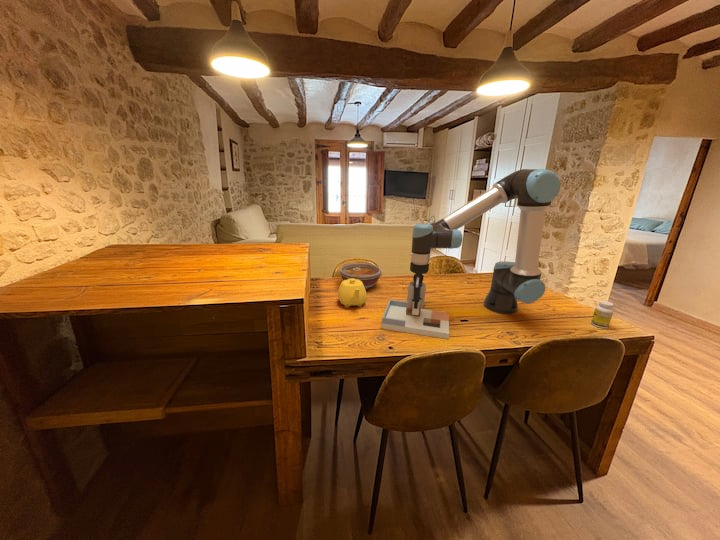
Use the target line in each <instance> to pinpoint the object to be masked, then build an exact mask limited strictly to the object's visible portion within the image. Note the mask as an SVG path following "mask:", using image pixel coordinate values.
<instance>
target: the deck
mask: <svg viewBox="0 0 720 540" xmlns="http://www.w3.org/2000/svg"><path fill="white" fill-rule="evenodd" d="M407 304H408V302H407V301H404V300H396V299H389V301H388V303H387V306H386V308H385V311H384V312H383V315H382V317H381V329H382V330H387V331H388V330H389V331H394V332H400V333H406V334H407V333H408V334H413V335H419V336H427V337H430V338H431V337H432V338H439V339H444V340H449V337H450V313H449V312H447V311H441V310H440V311H439V310H431V309H425V308H421V311H420V317H418V316H411V315H406V307H407Z"/></svg>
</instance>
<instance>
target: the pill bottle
mask: <svg viewBox="0 0 720 540" xmlns="http://www.w3.org/2000/svg"><path fill="white" fill-rule="evenodd" d="M613 307H614V303H612V302H611V301H607V300H599V303H598V304H597V305H596V306H595V308H594V312H593V315H592V318H591V322H590V323H591V325H592V326H594V327H596V328H600V329H608V328H609V325H610V323H611V321H612V317H613V314H614V313H615V312H614V309H613Z"/></svg>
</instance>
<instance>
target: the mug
mask: <svg viewBox="0 0 720 540" xmlns="http://www.w3.org/2000/svg"><path fill="white" fill-rule="evenodd" d="M413 284H414V280H413V281H410V282H408V287H407V296H406V298H407V299H406V302H412V303H413V301H412V299H413V295H414V286H413ZM426 291H427V284H426V283H425V282H423V281H422V287H421V292H420V298H421V300H420V304H421V309H424V307H425V302H426V301H425V300H426V299H425V298H426Z"/></svg>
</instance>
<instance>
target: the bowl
mask: <svg viewBox="0 0 720 540" xmlns="http://www.w3.org/2000/svg"><path fill="white" fill-rule="evenodd" d="M381 273H382V270H381V268H380V267H379V266H377V265H375V264H370V263H366V262H351V263H348V264H347V263H346V264H344V265H342V266H341V267H340V268H339V274H340V277H341V279H342V281H344V280H348V279H351V278H354V279H357V280H360V281H362V283H363V285H364V287H365V290H367V289H370V288H371V287H373V286H374V285H375V284H376V283H377V282H378V281H379V279H380V276H381Z"/></svg>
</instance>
